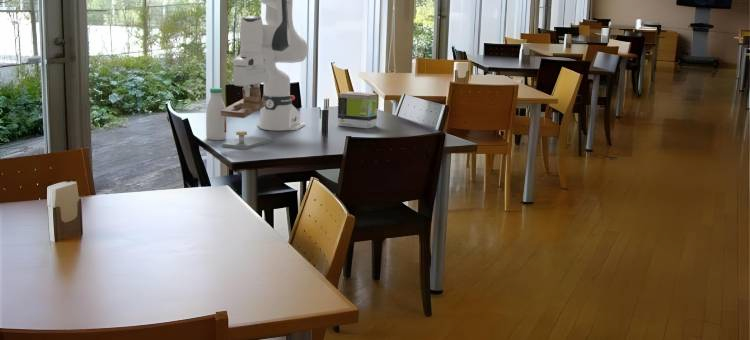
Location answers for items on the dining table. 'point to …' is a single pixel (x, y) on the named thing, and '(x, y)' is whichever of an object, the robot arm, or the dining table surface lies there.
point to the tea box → (357, 109)
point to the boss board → (246, 141)
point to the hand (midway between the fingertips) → (251, 95)
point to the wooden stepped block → (245, 104)
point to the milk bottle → (215, 116)
